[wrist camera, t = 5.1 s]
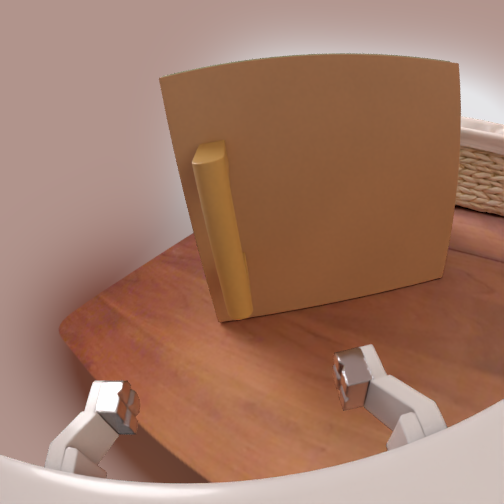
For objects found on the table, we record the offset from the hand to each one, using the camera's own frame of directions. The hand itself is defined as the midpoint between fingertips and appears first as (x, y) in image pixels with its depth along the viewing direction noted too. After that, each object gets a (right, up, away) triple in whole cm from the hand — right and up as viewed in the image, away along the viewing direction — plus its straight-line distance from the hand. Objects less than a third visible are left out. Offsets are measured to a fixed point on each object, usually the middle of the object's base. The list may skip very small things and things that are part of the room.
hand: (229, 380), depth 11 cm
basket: (+42, +15, +38) cm, 59 cm away
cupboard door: (+10, -2, +18) cm, 21 cm away
